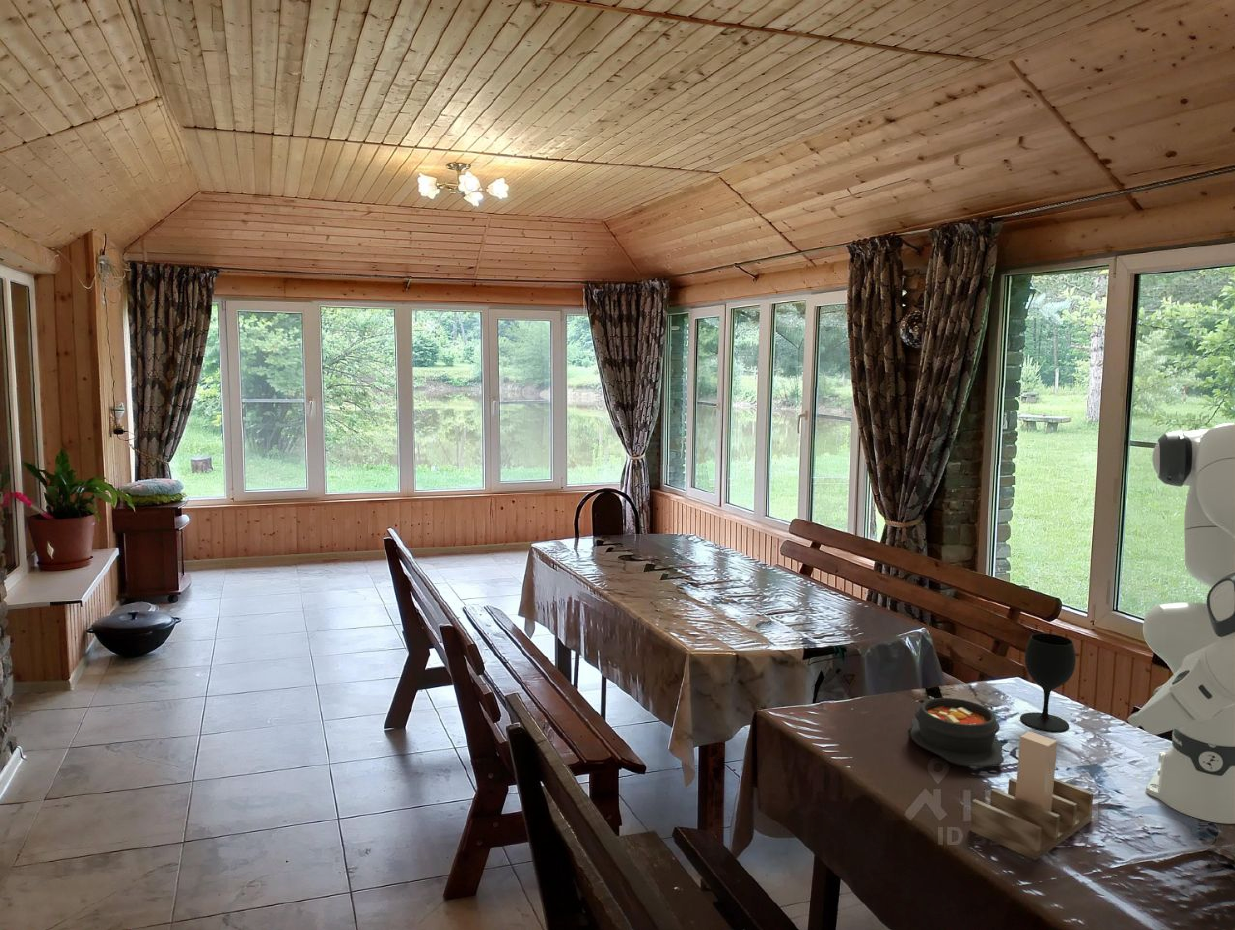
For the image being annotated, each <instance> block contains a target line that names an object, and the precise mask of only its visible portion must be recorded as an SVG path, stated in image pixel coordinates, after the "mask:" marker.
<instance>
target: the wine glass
mask: <svg viewBox="0 0 1235 930" xmlns="http://www.w3.org/2000/svg"><path fill="white" fill-rule="evenodd" d="M1024 652H1025V653H1024V664H1025V667H1026V671H1027V673H1028V674H1029V676H1030V678H1031V679H1032V680H1033V681H1034V682H1035V683H1036V684H1037V685H1038V686H1040V688H1041V689H1043V708H1042V712H1038V711H1036V712H1034V711H1033V712H1025V713H1022V714H1021V715H1020V717H1019V719H1020V721H1021V723H1023V725H1025V726H1026V727H1029V728H1031V729H1034V730H1038V731H1041V732H1045V733H1064V732H1066V731H1068V730H1069V729H1070V724H1069V723H1068V722H1067V721H1066V720H1065V719H1063V718H1062V717H1059V716H1058V715H1057V716H1056V715H1053V714H1050V713H1049V701H1050V696H1051V693H1052V691H1053V690H1055V689H1057V688H1059V687H1061V686H1063V685H1065V684H1066V683H1067V682H1068V681H1069V680H1070V678H1071V677H1072V676H1073V674H1074V671H1075V668H1076V659H1077V658H1076V651H1075V646H1074V642H1073V640H1071V639H1070V638H1068V637H1066V636H1063V635H1058V634H1054V633H1045V632H1044V633H1042V632H1041V633H1040V632H1039V633H1038V632H1037V633H1033V634H1031V635H1030V637H1029V639H1028V642H1027V644H1026V647H1025V651H1024Z"/></svg>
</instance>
